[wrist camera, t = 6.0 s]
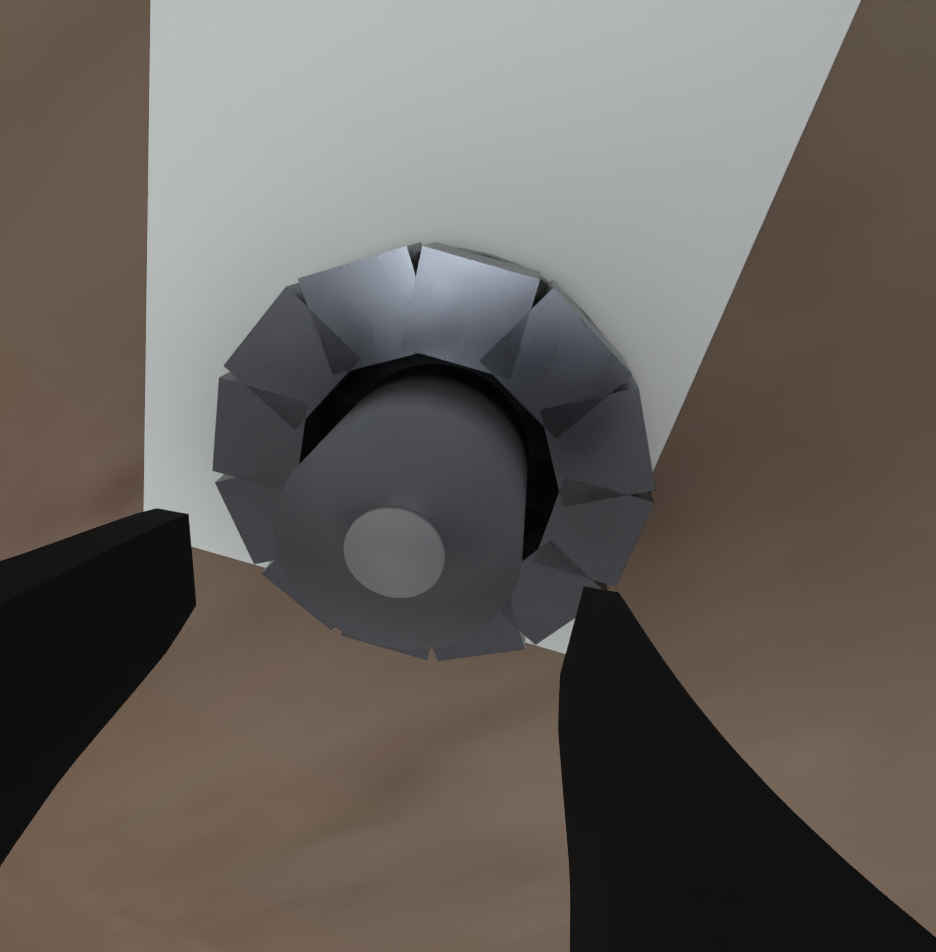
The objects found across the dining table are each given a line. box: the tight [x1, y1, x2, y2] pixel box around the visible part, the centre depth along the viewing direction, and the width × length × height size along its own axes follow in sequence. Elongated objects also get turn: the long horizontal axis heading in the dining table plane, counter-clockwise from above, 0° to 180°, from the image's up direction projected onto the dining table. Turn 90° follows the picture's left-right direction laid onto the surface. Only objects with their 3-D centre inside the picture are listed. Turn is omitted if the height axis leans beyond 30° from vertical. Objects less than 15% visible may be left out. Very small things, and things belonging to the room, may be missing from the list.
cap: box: [274, 364, 529, 649], centre depth 14 cm, size 5×5×5 cm
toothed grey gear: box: [212, 242, 656, 661], centre depth 16 cm, size 11×11×3 cm
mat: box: [144, 0, 861, 654], centre depth 15 cm, size 15×24×1 cm, turn 166°
